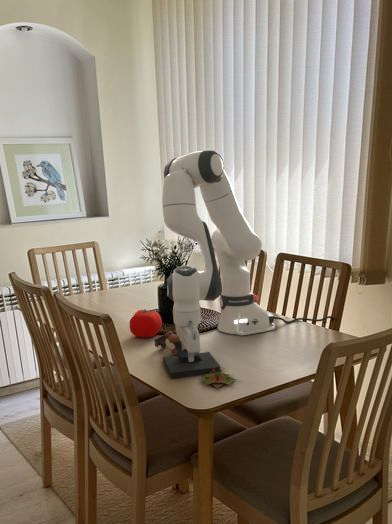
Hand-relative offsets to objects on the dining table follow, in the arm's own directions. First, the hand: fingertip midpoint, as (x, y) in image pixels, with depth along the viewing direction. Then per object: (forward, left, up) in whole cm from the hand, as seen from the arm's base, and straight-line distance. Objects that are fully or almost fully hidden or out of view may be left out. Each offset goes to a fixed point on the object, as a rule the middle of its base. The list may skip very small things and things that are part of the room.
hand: (188, 357), depth 182 cm
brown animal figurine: (+3, -13, -2) cm, 14 cm away
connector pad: (0, 0, -2) cm, 2 cm away
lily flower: (-5, +17, -2) cm, 18 cm away
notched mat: (0, +4, -2) cm, 4 cm away
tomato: (+9, -32, -2) cm, 34 cm away
